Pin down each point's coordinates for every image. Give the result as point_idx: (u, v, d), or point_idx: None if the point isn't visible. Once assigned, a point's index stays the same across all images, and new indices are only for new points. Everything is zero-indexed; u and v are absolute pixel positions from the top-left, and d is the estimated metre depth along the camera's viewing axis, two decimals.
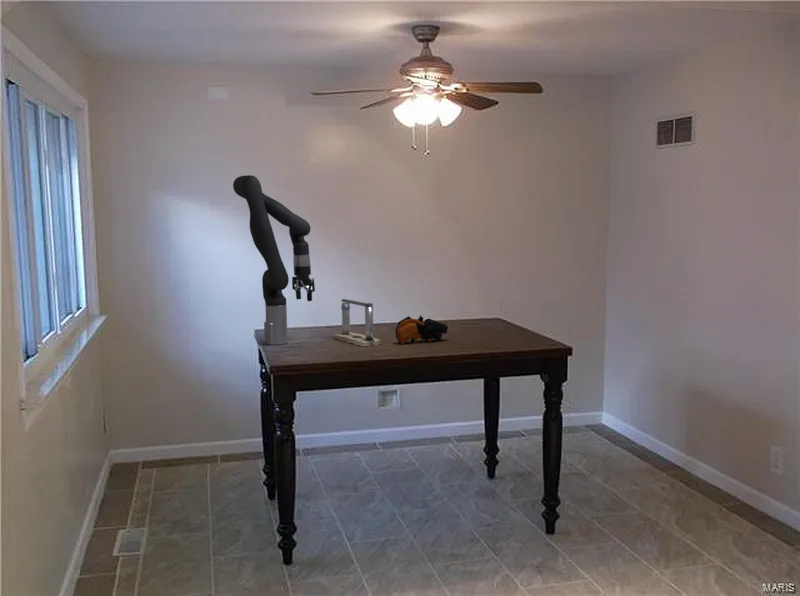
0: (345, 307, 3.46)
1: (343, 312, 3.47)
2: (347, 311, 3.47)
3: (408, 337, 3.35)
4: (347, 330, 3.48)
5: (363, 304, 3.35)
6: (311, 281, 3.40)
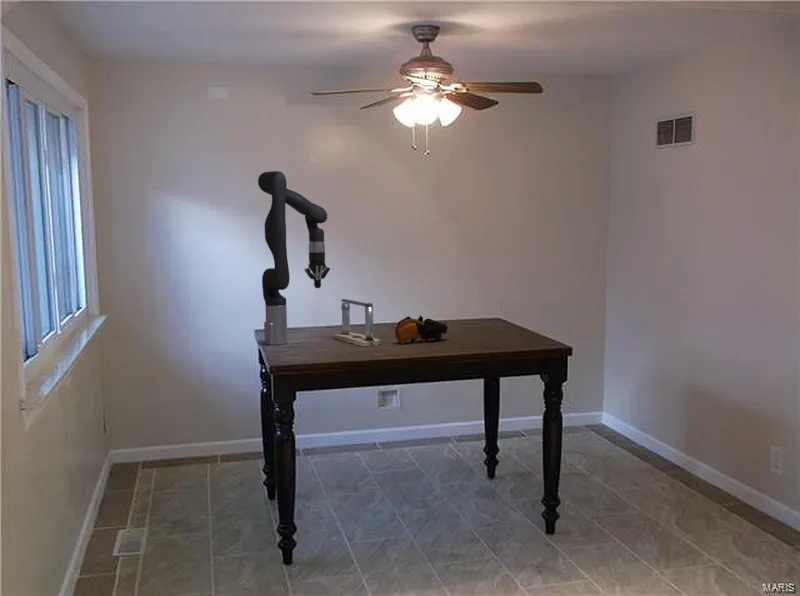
0: (345, 307, 3.46)
1: (343, 312, 3.47)
2: (347, 311, 3.47)
3: (408, 337, 3.35)
4: (347, 330, 3.48)
5: (363, 304, 3.35)
6: None
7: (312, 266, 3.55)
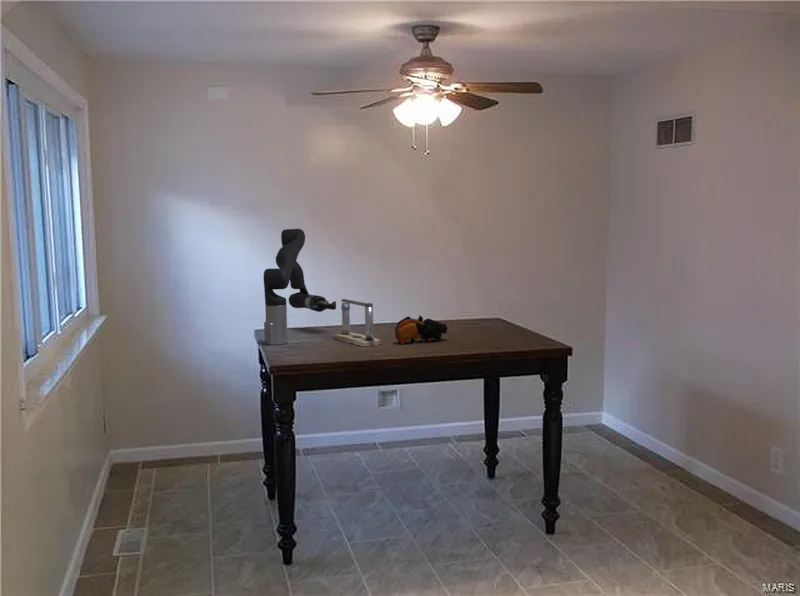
0: (345, 307, 3.46)
1: (343, 312, 3.47)
2: (347, 311, 3.47)
3: (408, 337, 3.35)
4: (347, 330, 3.48)
5: (363, 304, 3.35)
6: (335, 303, 3.66)
7: (317, 303, 3.63)
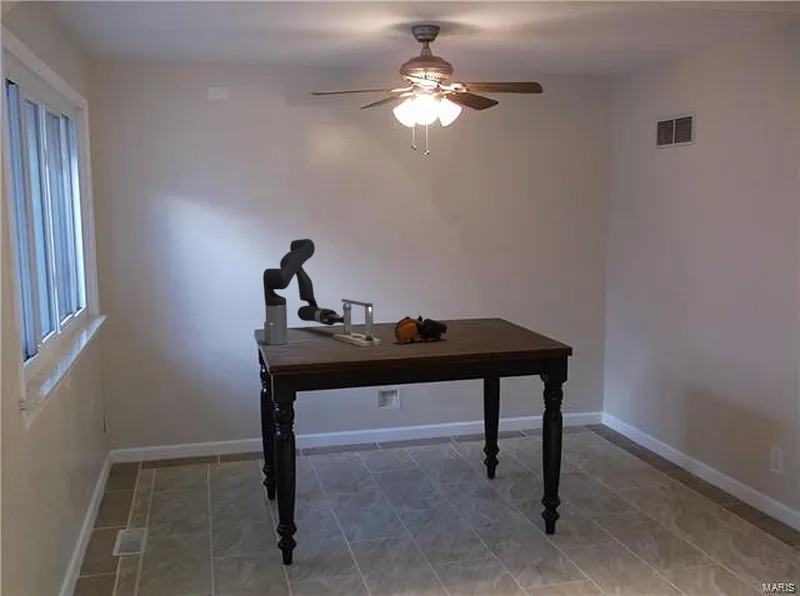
0: (346, 307, 3.45)
1: (344, 312, 3.46)
2: (349, 311, 3.46)
3: (408, 337, 3.35)
4: (348, 330, 3.47)
5: (363, 304, 3.35)
6: None
7: (327, 316, 3.55)
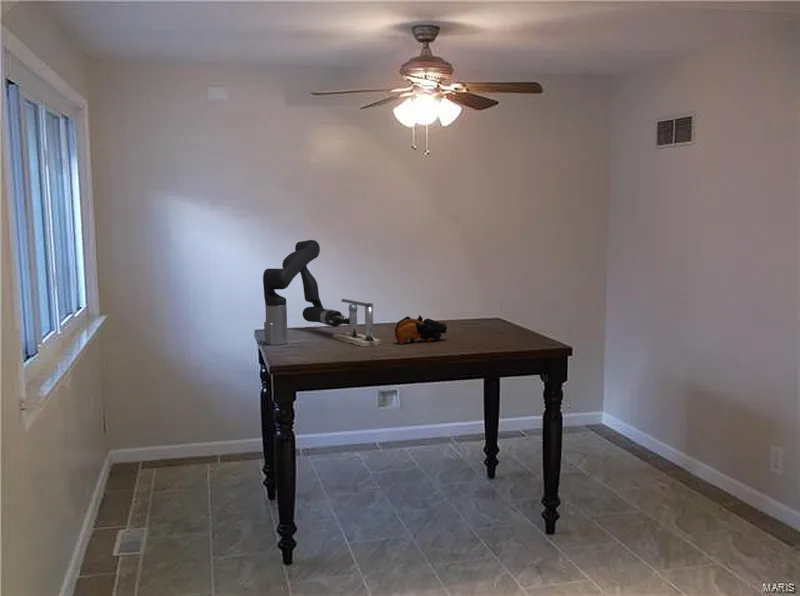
0: (352, 309, 3.41)
1: (350, 314, 3.42)
2: (354, 313, 3.42)
3: (407, 337, 3.35)
4: (354, 332, 3.43)
5: (363, 304, 3.35)
6: None
7: (333, 317, 3.51)
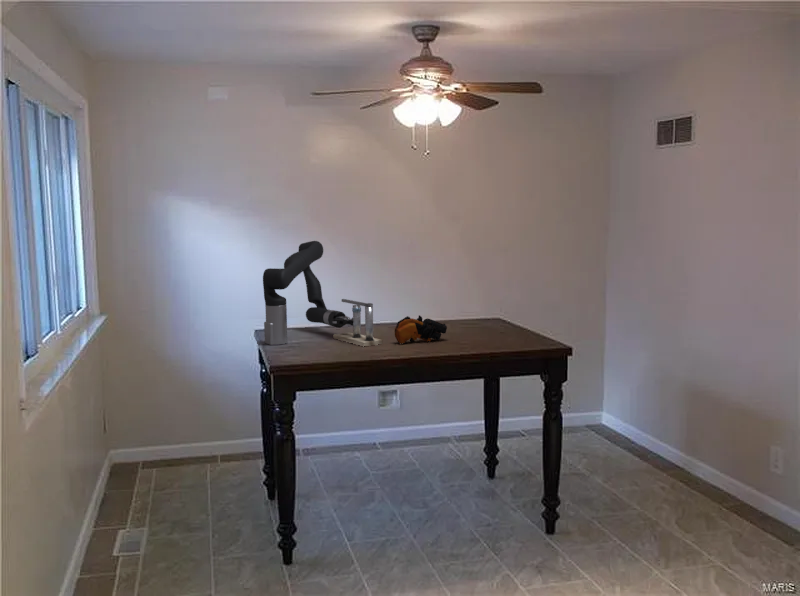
0: (356, 309, 3.39)
1: (354, 314, 3.40)
2: (358, 313, 3.39)
3: (407, 337, 3.35)
4: (358, 333, 3.40)
5: (363, 304, 3.35)
6: None
7: (336, 318, 3.49)
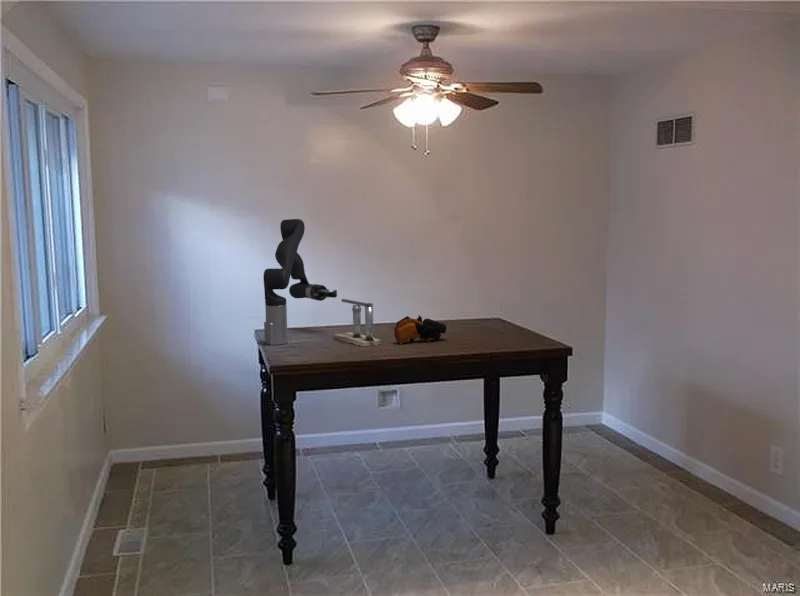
0: (356, 309, 3.39)
1: (354, 314, 3.40)
2: (358, 313, 3.39)
3: (407, 337, 3.36)
4: (358, 333, 3.40)
5: (363, 304, 3.35)
6: (336, 292, 3.64)
7: (317, 291, 3.61)
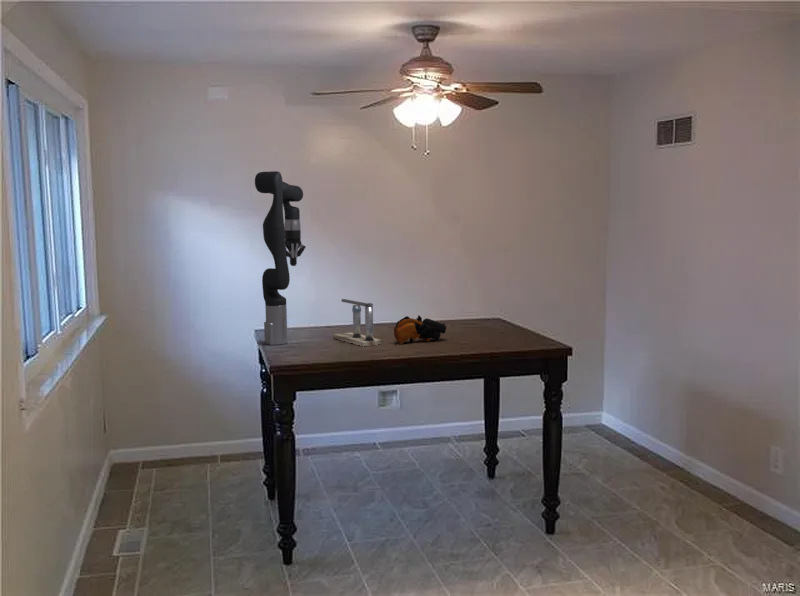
0: (356, 309, 3.39)
1: (354, 314, 3.40)
2: (358, 313, 3.39)
3: (407, 337, 3.36)
4: (358, 333, 3.40)
5: (363, 304, 3.35)
6: None
7: (288, 244, 3.60)
